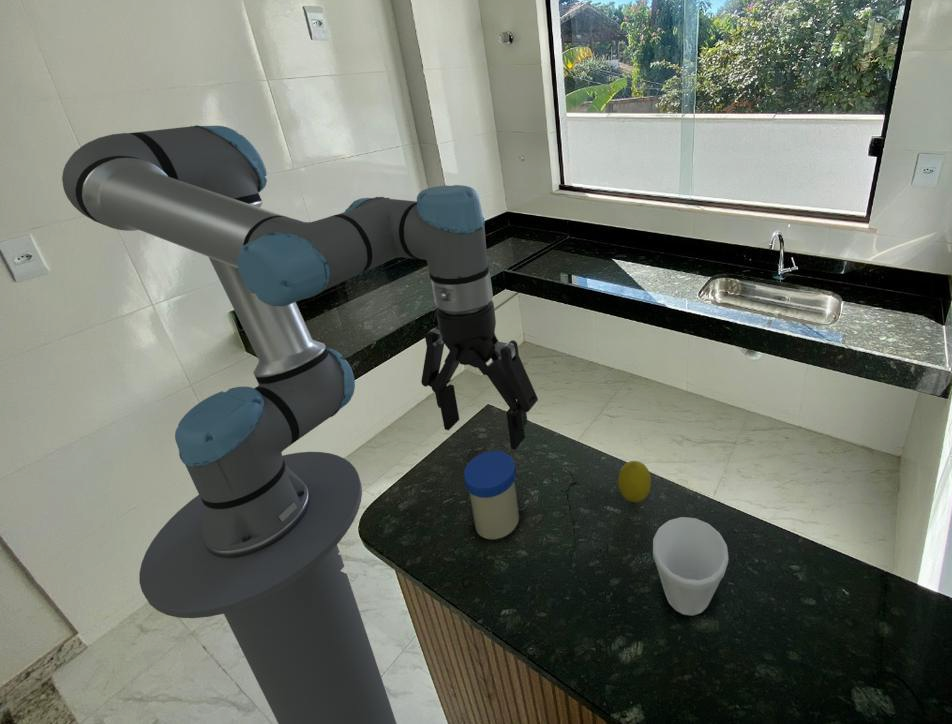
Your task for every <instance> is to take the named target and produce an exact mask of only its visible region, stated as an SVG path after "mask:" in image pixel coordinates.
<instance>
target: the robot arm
mask: <svg viewBox="0 0 952 724" xmlns="http://www.w3.org/2000/svg"><path fill="white" fill-rule="evenodd" d="M267 174H268V172H267V169H266V166H265V163H264V161H263V159H262V156H261V155H260V153H259V152H258V150H257V149H256V147H255V146H254V145H253V144H252V142H250V141H249V139H247V138H246V136H244V135H243V134H240V133H239V132H237V130H234V129H233V128H230V127H228V126H224V125H198V124H195V125H190V126H182V127H181V126H180V127H172V128H165V129H154V130H144V131H136V132H121V133H120V132H119V133H112V134H107V135H104V136H100V137H97V138H95V139H92V140H90V141H88V142H86V143H84V144H83V145H82V146H80V147H79V148H78V149H76V150H74V152H73V153H72V154H71V155H70V157H69V159H68V160H67V161H66V162H65V164H64V168H63V170H62V176H61V180H62V181H61V182H62V187H63V191H64V193H65V196H66V198H67V200H68V201H69V202H70V203H71V205H72V206H73V207H74V208H75V209H76V210H77V211H78V212H79V213H81V215H83V216H84V217H87V218H88V219H90V220H91V221H93V222H96V223H98V224H100V225H103V226H106V227H107V228H111V229H114V230H118V231H126V232H127V231H128V232H135V231H141V232H143V233H146V234H148V235H151V236H154V237H156V238H159V239H161V240H164V241H166V242H169V243H172V244H175V245H178V246H180V247H183V248H184V249H187V250H190V251H193V252H195V253H198V254H201V255H203V256H205V257H207V258H208V259H209V262H210V263H211V265H212V267H213V270H214V272H215V273H216V276H217V278H218V280H219V281H220V283H221V285H222V288H223V290H224V292H225V294H226V296H227V298H228V300H229V302H230V304H231V307H232V308H233V310H234V313H235V315H236V316H237V319H238V321H239V322H240V325H241V327H242V328H243V331H244V333H245V334H246V337H247V339H248V340H249V343H250V345H251V347H252V349H253V351H254V353H255V356H256V357H257V359H258V363H257V364H256V366H255V368H254V370H253V375H254V378H255V379H256V381H257V386H255V387H252V386H236V387H235V386H234V387H232V388H228V389H227V390H226V391H223V390H222V391H219V392H216V393H214V394H211V395H210V396H208V397H207V398H205V399H203V400H201V401H200V402H198V403H197V404H195V405H194V406H193V407H192V408H191V409H189V410H188V411H187V412H186V413H185V414H184V415H183V417H182V418H181V419H180V421H179V423H178V424H177V427H176V429H175V432H174V440H175V443H176V445H177V448H178V455H179V459H180V461H181V462H182V463H183V464H184V465H185V467H186V470H187V472H188V474H189V476H190V477H191V480H192V483H193V485H194V487H195V490H196V491H197V493H198V495H199V496H200V497H201V500H202V502H203V504H204V506H203V524H202V538H203V541H204V544H205V546H206V548H207V550H208V551H209V552H210V553H211V554H213V555H215V556H217V557H221V558H236V557H241V556H246V555H249V554H252V553H255V552H257V551H260V550H262V549H264V548H266V547H268V546H270V545H272V544H274V543H275V542H277V541H278V540H280V539H281V538H283V537H284V536H285V535H287V534H288V533H289V532H290V531H291V530H292V529H293V528H295V526H296V525H297V524H298V523H299V522H300V521H301V520H302V518H303V517H304V515H305V514H306V512H307V510H308V507H309V504H310V495H309V492H308V489H307V486H306V485H305V483H304V482H303V481H302V480H301V479H300V478H299V477H298V476H297V475H296V474H295V473H294V472H293V471H291V470H290V469H289V468H288V467H287V466H286V465H285V462H284V459H283V454H282V453H283V452H284V451H285V450H286V449H287V448H288V447H290V446H291V445H293V444H294V443H296V442H297V441H299V440H300V439H301V438H303V437H304V436H305V435H307V434H309V433H310V432H312V431H313V430H314V429H316V428H317V427H319V426H320V425H321V424H323V423H324V422H325V421H327V420H329V418H333V417H334V416H336V414H338V412H339V411H340V410H341V409H342V408H344V407H345V406H346V405H348V404H349V402H351V400H352V398H353V396H354V393H355V389H356V379H355V375H354V372H353V369H352V367H351V365H350V364H349V361H348V360H347V359H344V357H343V354H341V353H340V352H338V351H337V350H335V349H332V348H327V346H326V344H325V343H324V342H321V341H317V340H314V339H313V337H312V335H311V333H310V331H309V329H308V326H307V325H306V322H305V320H304V317H303V315H302V313H301V312H300V308H299V306H298V303H297V302H299V301H302V300H307V299H311V298H314V297H315V296H317V295H320V294H321V293H322V292H324V291H326V290H328V289H330V288H333V287H335V286H336V285H339V284H341V283H343V282H345V281H347V280H349V279H351V278H354V277H356V276H358V275H360V274H363V273H365V272H367V271H370V270H372V269H374V268H377V267H378V266H381V265H383V264H385V263H387V262H389V261H392V260H394V259H397V258H406V259H407V258H408V259H414V260H420V261H421V260H422V261H423V260H425V261H426V263H427V268H428V274H429V278H430V283H431V288H432V289H431V290H432V293H433V299H434V305H435V307H436V310H435V314H436V319H437V323H438V325H437V326H435V327H434V328H432V329H431V330H429V331H428V332H427V333H425V334H424V340H425V345H426V349H425V354H424V355H425V356H424V362H423V367H422V374H421V381H420V382H421V385H422V386H423V387H424V388H425V387H426V388H427V387H428V386H429V387H430V388H431V390H432V392H433V393H434V395H435V399H436V400H435V401H436V405H437V407H438V409H440V412H441V418H442V423H443V427H444V430H445V431H450V430H451V429H452V428H453V427H454V426H455V425H456V424H457V423H458V422H459V421H460V414H459V408H458V403H457V402H458V401H457V397H456V391H455V385H454V384H449V383H450V382H452V377H453V376H454V374H455V373H456V371H457V369H458V367H459V365H462V366H471V367H473V368H476V369H478V370H479V371H480V372H481V374H482V375H483V376H487V378H488V379H489V381H490V382H491V383H492V385H493V386H494V388H495V390H496V391H497V392H498V394H499V395H500V396H501V398H502V399H503V400H504V402H505V403H506V405H507V406H508V409H507V411H506V420H507V429H508V436H509V444H510V449H511V450H515V451H516V449H518V447H519V446H520V445H521V444H522V442H524V440H525V438H526V435H525V434H526V433H525V426H526V425H527V423H528V414H527V413H529V412H530V411H531V410H532V408H533V407H534V406H535V405H536V404H537V403H538V400H539V398H538V396H537V393H536V391H535V389H534V386H533V385H532V382H531V380H530V378H529V375H528V373H527V371H526V369H525V366H524V364H523V361H522V360H521V359H522V358H521V357H520V355H519V346H518V345H519V344H518V343H517V341H515V340H514V339H512V340H510V341H509V342H504V341H499V339H498V337H497V335H496V324H497V319H496V312H495V311H496V310H495V304H494V303H495V302H494V301H493V300H492V299H493V297H494V296H493V295H494V294H493V285H492V278H491V272H490V267H489V262H488V253H487V252H488V251H487V242H486V230H485V229H486V228H485V223H486V220H485V217H484V214H483V210H482V206H481V199H480V196H479V193H478V192H477V190H476V189H474V188H473V187H471V186H468V185H464V184H463V185H461V184H454V185H447V184H445V185H438V186H437V185H436V186H433V187H428V188H425V189H423V190H421V191H420V192H419V193H418V194H417V196H416V200H407V199H397V198H396V199H395V198H390V197H385V196H375V197H361V198H358V199H356V200H354V201H352V202H351V204H350V205H349V206H348V207H347V208H346V209H345V210H344V211H343V212H341V213H338V214H334V215H333V214H332V215H330V216H327V217H324V218H321V219H317V220H313V221H307V222H306V221H302V220H300V219H297V218H293V217H289V216H287V215H284V214H280V213H277V212H274V211H271V210H269V209H265V208H262V207H261V206H262V205H263V200H262V198H261V195H260V193H261V192H262V191H263V190H264V189H265V187H266V186H267V183H268V179H267V178H266V177H267ZM445 347H446V348H447V349H448V351H449V352H448V354H447V356H446V358H445V359H444V364H443V365H442V359H443V354H444V348H445ZM490 360H491V362H490ZM489 362H490V363H489ZM441 365H442V367H441Z"/></svg>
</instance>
